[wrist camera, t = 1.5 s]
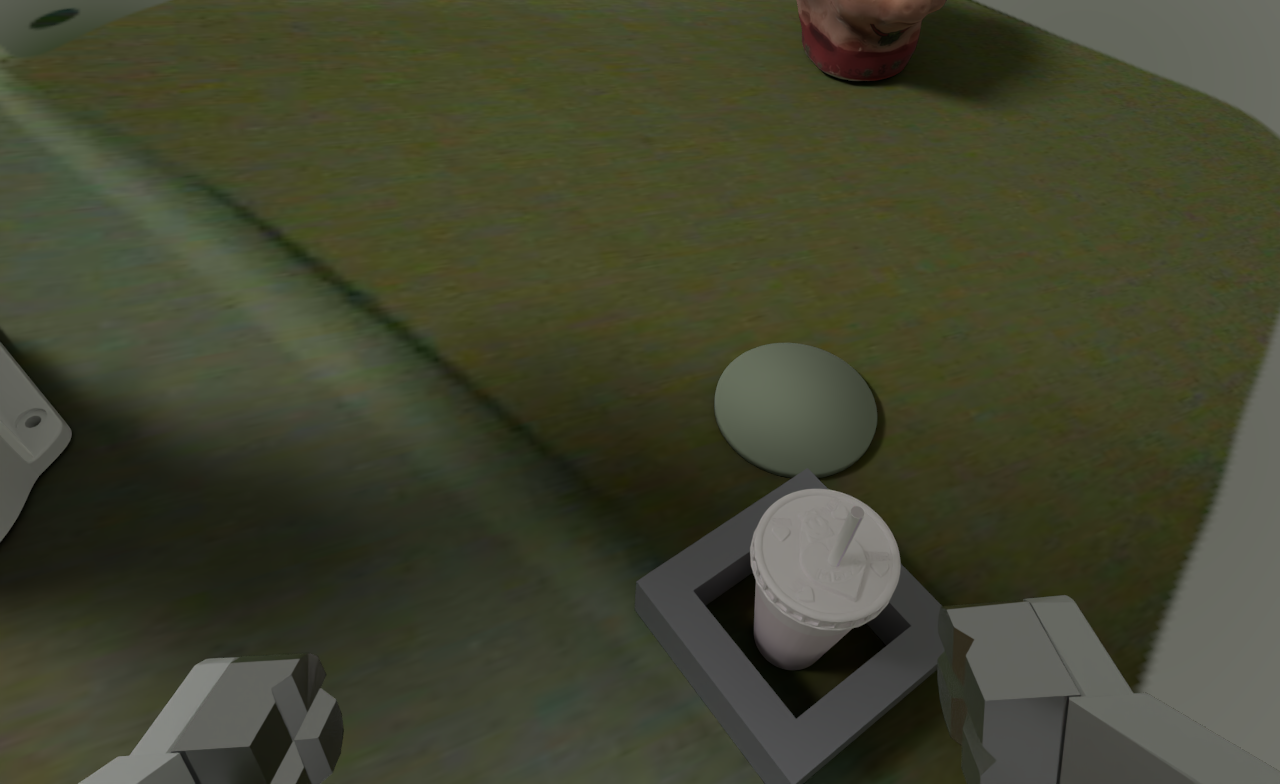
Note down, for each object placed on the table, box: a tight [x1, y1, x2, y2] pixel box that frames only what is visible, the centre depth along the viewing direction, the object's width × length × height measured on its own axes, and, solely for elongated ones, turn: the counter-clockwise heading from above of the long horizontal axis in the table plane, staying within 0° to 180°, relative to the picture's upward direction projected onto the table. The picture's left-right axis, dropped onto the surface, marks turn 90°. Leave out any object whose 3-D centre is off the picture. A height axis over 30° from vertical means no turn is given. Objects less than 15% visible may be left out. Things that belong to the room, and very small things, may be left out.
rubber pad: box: [714, 343, 877, 478], centre depth 52 cm, size 10×10×1 cm
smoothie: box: [750, 489, 901, 670], centre depth 38 cm, size 6×6×14 cm
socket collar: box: [635, 468, 945, 784], centre depth 42 cm, size 12×12×4 cm
